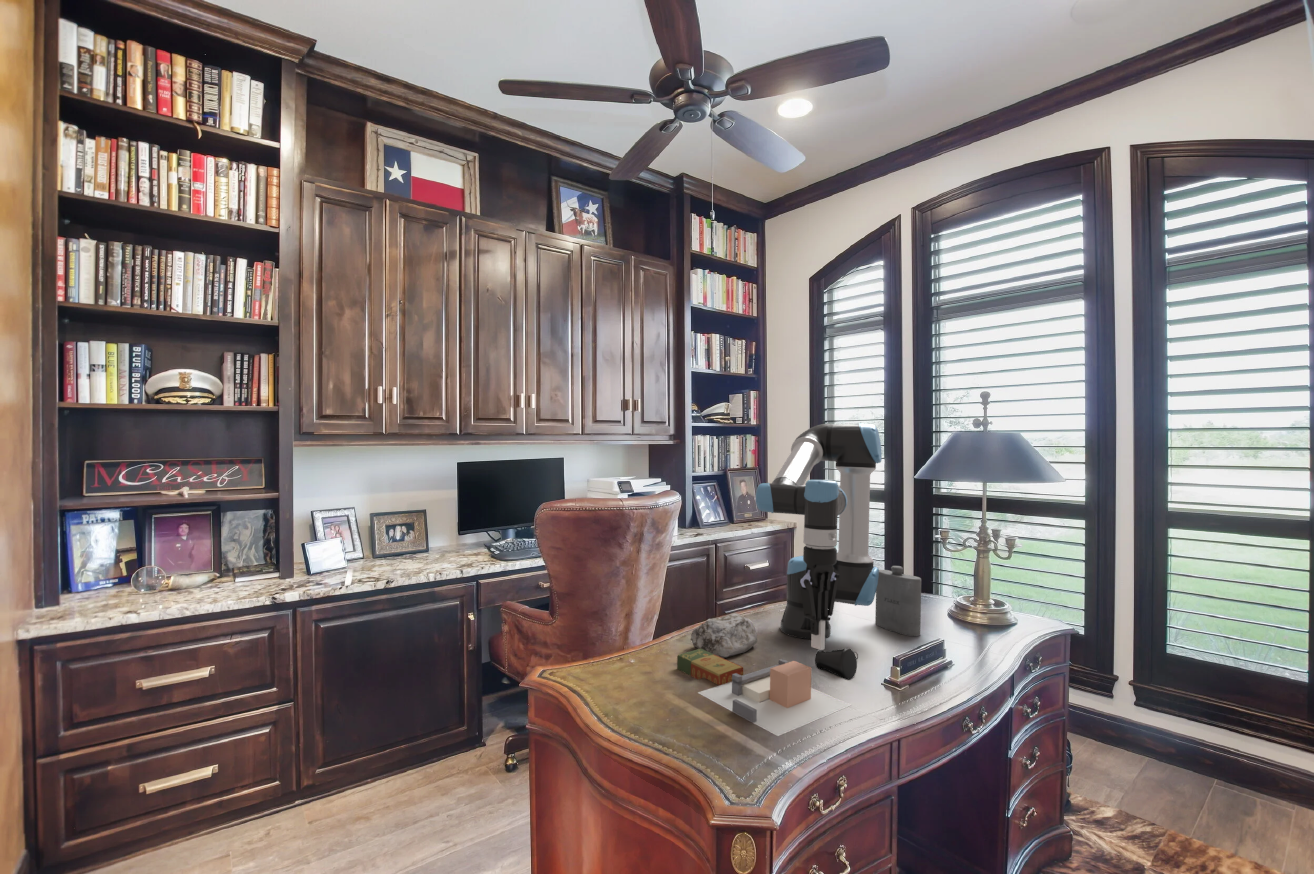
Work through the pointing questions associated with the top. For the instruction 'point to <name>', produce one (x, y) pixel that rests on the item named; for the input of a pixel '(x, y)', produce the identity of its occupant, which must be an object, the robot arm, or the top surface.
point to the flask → (898, 602)
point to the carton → (707, 666)
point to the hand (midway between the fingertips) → (817, 647)
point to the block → (790, 684)
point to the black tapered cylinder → (838, 662)
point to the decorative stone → (725, 635)
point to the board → (770, 702)
